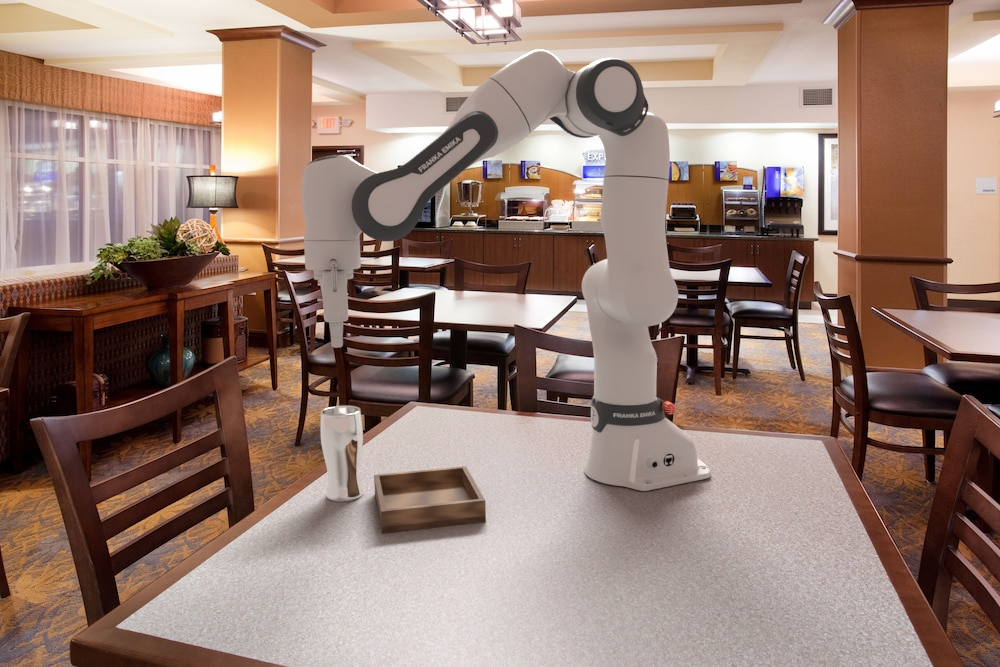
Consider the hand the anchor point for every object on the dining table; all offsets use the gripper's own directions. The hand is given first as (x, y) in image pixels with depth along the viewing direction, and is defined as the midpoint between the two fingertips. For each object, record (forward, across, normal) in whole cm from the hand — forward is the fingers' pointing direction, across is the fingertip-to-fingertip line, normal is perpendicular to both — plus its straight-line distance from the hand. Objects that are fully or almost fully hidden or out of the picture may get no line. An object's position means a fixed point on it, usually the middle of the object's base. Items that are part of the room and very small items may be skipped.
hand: (336, 341), depth 119 cm
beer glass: (+27, 0, 0) cm, 27 cm away
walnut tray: (+27, -9, -13) cm, 31 cm away
